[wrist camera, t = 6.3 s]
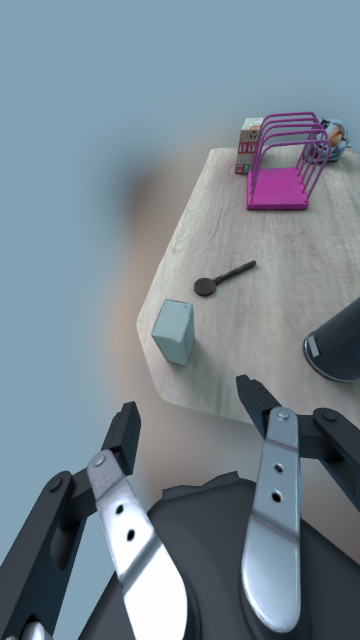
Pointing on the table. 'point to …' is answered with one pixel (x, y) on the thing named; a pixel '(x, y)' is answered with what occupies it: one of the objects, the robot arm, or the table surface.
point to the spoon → (217, 280)
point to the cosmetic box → (175, 331)
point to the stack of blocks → (247, 144)
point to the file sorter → (284, 183)
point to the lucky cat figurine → (335, 137)
